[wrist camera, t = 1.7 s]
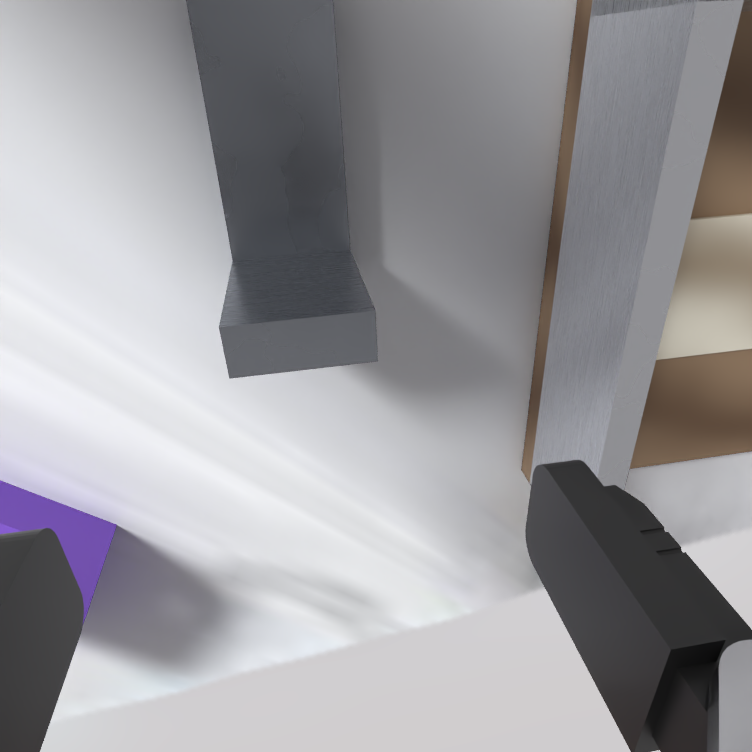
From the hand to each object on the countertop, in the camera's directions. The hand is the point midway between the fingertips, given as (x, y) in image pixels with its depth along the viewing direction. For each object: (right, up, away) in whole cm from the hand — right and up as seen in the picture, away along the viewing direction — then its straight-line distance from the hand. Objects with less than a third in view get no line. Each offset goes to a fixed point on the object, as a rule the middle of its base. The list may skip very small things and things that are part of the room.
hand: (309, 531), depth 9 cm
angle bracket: (-2, +10, +9) cm, 14 cm away
